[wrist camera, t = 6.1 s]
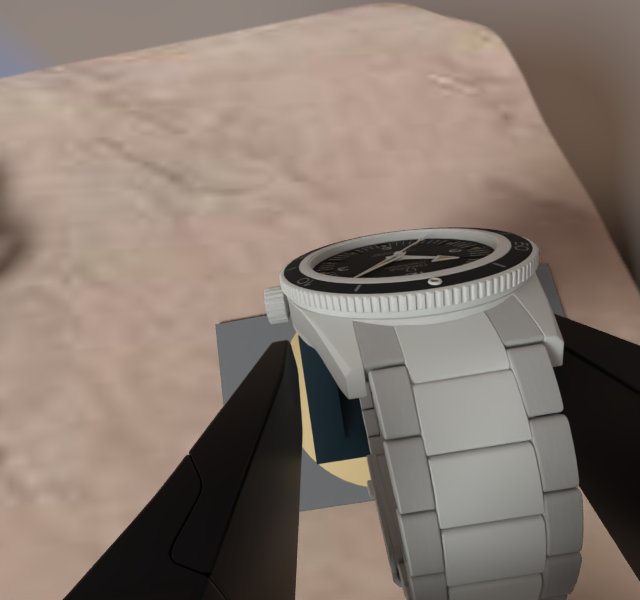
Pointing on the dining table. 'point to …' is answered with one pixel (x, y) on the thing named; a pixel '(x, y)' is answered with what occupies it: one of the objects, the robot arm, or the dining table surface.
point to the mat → (316, 479)
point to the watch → (444, 405)
